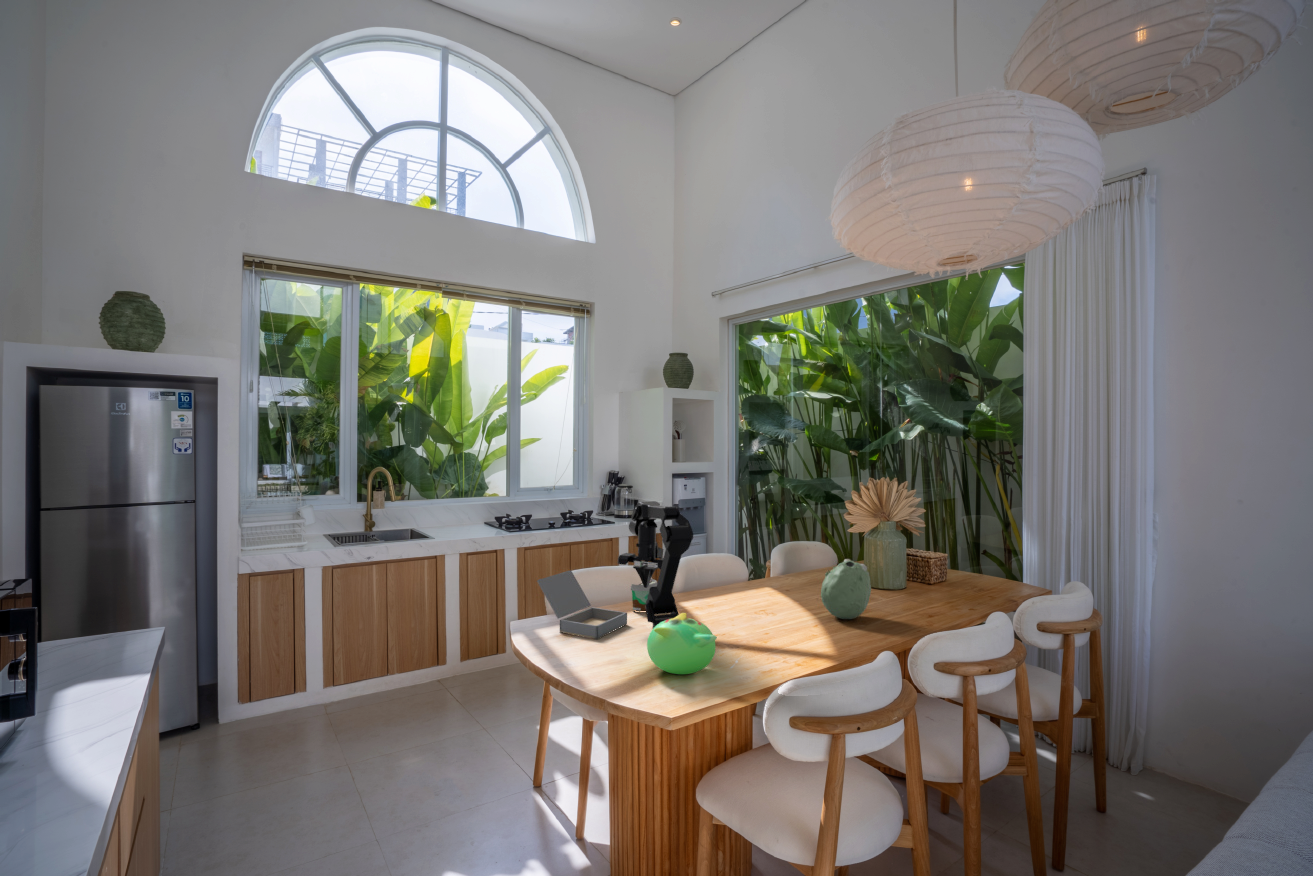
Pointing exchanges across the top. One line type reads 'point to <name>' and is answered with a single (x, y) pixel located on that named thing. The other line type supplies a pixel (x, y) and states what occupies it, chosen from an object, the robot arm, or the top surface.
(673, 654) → the toy bird
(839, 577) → the green avocado
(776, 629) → the top surface
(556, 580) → the mailer lid
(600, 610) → the box
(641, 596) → the food container
